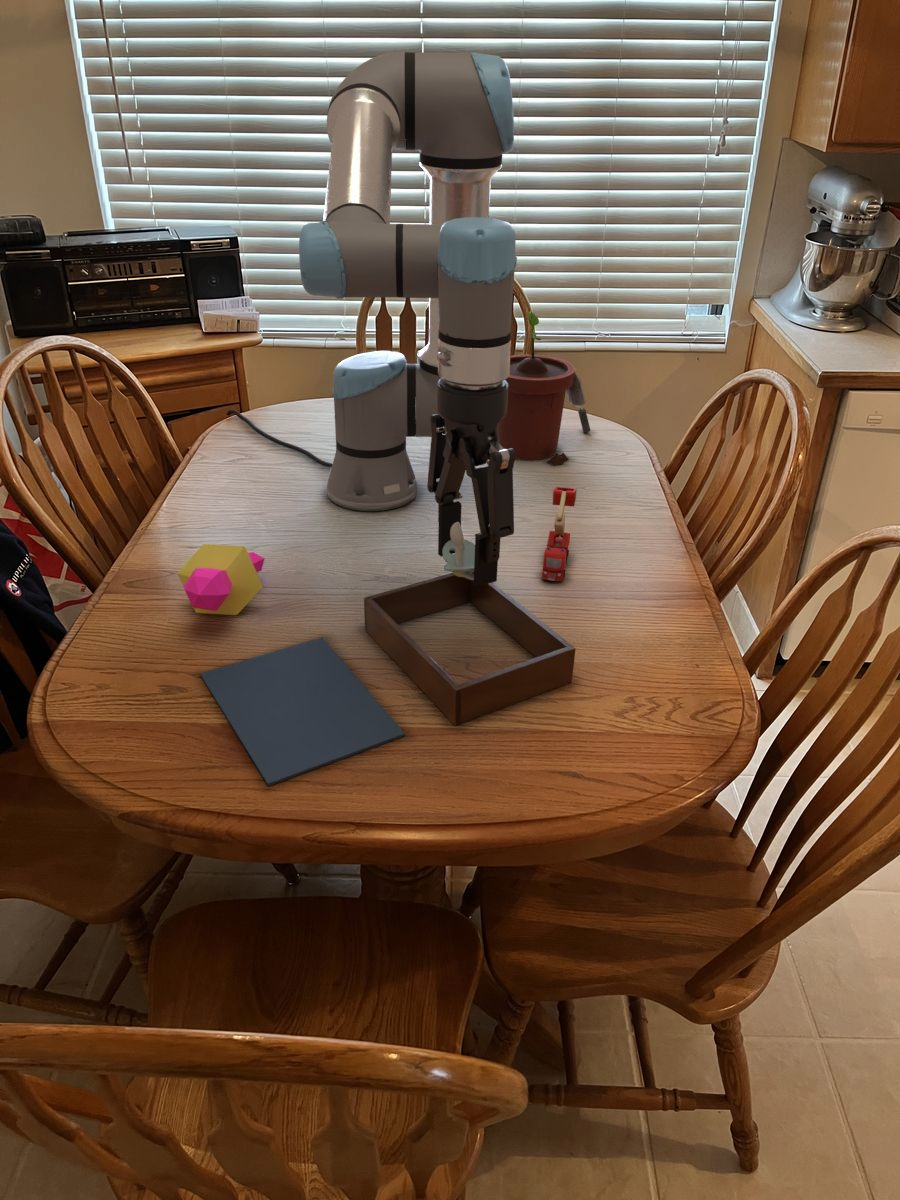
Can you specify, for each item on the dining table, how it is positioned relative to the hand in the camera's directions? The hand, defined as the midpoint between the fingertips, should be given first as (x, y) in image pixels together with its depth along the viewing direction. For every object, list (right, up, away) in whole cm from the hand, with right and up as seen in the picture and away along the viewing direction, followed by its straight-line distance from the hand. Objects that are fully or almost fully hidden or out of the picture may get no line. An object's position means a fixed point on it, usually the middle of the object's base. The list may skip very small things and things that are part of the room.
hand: (466, 566), depth 107 cm
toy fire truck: (+14, +2, +28) cm, 31 cm away
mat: (-20, -16, -3) cm, 25 cm away
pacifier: (0, -1, 0) cm, 1 cm away
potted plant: (+16, +25, +67) cm, 73 cm away
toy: (-32, -5, +15) cm, 36 cm away
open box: (0, -11, +6) cm, 13 cm away
